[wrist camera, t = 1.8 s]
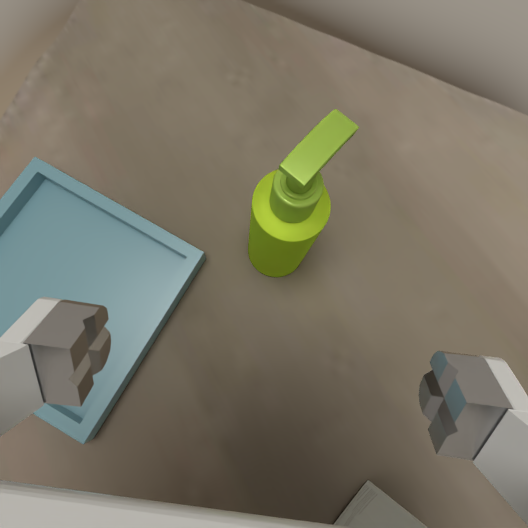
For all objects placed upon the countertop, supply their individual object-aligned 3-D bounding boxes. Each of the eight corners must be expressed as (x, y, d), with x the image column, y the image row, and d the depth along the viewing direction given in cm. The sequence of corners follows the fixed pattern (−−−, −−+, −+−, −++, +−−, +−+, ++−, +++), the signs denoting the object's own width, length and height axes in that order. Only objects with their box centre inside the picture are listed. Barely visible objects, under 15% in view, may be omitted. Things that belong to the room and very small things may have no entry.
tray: (93, 438, 36) (83, 444, 34) (-82, 331, 38) (-104, 329, 35) (206, 258, 41) (203, 252, 39) (46, 168, 42) (35, 156, 40)
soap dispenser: (319, 241, 42) (388, 143, 23) (278, 288, 41) (314, 226, 21) (278, 207, 43) (311, 82, 23) (236, 252, 41) (234, 159, 22)
